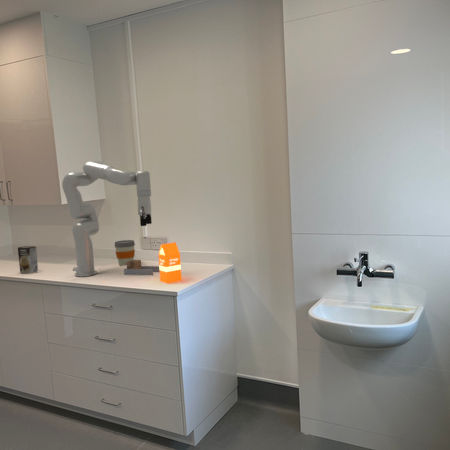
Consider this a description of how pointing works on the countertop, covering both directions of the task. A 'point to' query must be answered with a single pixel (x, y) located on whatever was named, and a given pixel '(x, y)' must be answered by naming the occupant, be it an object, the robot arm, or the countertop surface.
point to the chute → (142, 270)
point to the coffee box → (28, 259)
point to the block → (134, 264)
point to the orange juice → (169, 263)
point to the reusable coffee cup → (124, 251)
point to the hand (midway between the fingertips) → (146, 224)
